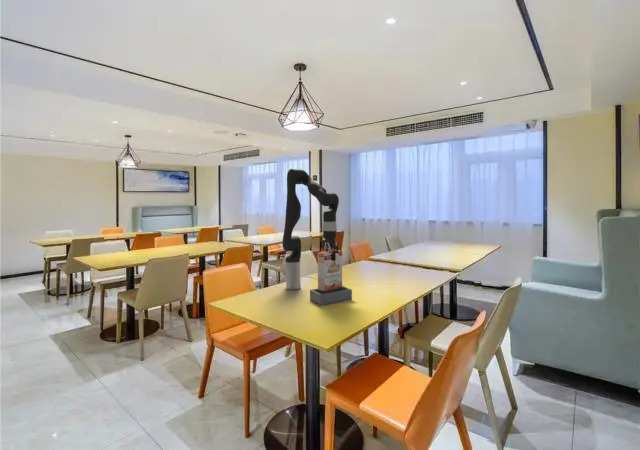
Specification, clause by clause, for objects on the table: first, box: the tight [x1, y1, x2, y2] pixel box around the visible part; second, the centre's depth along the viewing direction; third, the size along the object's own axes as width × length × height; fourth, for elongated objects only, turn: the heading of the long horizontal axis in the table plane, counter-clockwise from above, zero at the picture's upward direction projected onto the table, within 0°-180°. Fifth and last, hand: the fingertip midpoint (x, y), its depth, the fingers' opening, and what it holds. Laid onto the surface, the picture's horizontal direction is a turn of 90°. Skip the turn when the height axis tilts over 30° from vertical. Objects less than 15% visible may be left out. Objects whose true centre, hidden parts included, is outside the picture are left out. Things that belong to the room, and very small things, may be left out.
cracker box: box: [317, 249, 343, 291], centre depth 186 cm, size 14×6×21 cm, turn 132°
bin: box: [309, 285, 353, 307], centre depth 187 cm, size 12×20×6 cm, turn 119°
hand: (330, 259), depth 186 cm, fingers closed on cracker box, 6 cm apart
